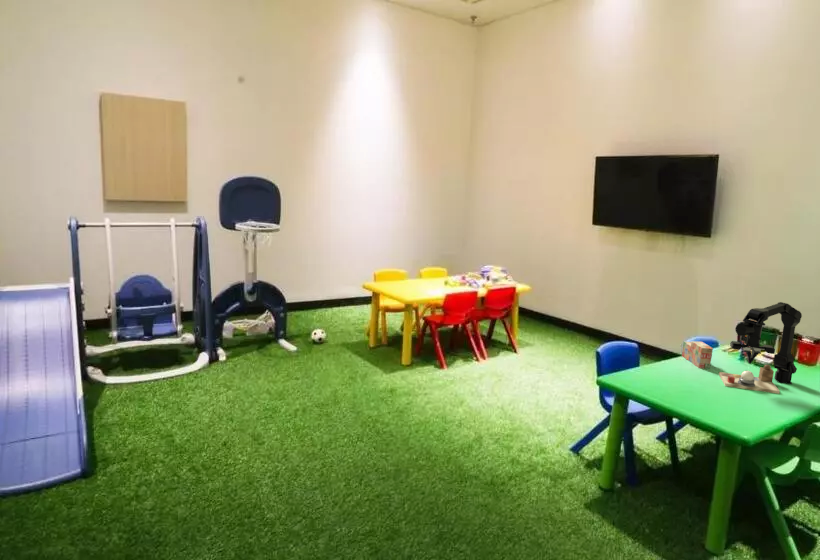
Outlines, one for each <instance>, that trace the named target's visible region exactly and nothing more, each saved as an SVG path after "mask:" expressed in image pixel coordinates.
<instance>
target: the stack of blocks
mask: <svg viewBox="0 0 820 560" xmlns="http://www.w3.org/2000/svg"><path fill="white" fill-rule="evenodd" d="M713 350H714V348H713V347H711V346H710V345H708V344H706V343H705V342H703V341H692V340H691V341H683V343H682V350H681V357H682V358H684V359H686V361H689V363H691V364H692V365H694V366H695V367H697V368H698V369H705V370H707V369H708V370H709V369H711V361H712V357H713Z"/></svg>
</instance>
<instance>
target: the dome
mask: <svg viewBox="0 0 820 560" xmlns="http://www.w3.org/2000/svg"><path fill="white" fill-rule="evenodd" d="M740 375H741V377H740V378H739V381H741V382H743V383H747V384H754V382H755V381H754V380H753V379H754V377H755V375H754V373H753V372H752V371H750V370H743V371H742V372H741V374H740Z"/></svg>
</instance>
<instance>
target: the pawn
mask: <svg viewBox="0 0 820 560" xmlns="http://www.w3.org/2000/svg"><path fill="white" fill-rule="evenodd" d="M774 372H775V371H774V370H773V369H772V366H771V365H770V364H764V365H763V367H762V366H760V367H759V373H758V377H759V379H760V380H761V381H765V382H773V379H774V375H775V373H774Z"/></svg>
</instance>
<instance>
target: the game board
mask: <svg viewBox="0 0 820 560" xmlns="http://www.w3.org/2000/svg"><path fill="white" fill-rule="evenodd" d="M718 376H719V378H720V380H721V382H722V383H723V385H724V386H725V387H728V388H729V387H730V388H737V389H744V390H750V391H757V392H764V393H769V394H771V393H772V394H778V395H780V392H781V391H780V389H779V388H778V387H777V386H776V384H775V383H774V382H773V381H772V382H765V381H761V380H760V379H759V376H754V379H753V380H754V381H755V382H754V384H747V383H743V382H741V381H739V378H740V377H741V374H736V373H729V372H721V371H719V372H718Z"/></svg>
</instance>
